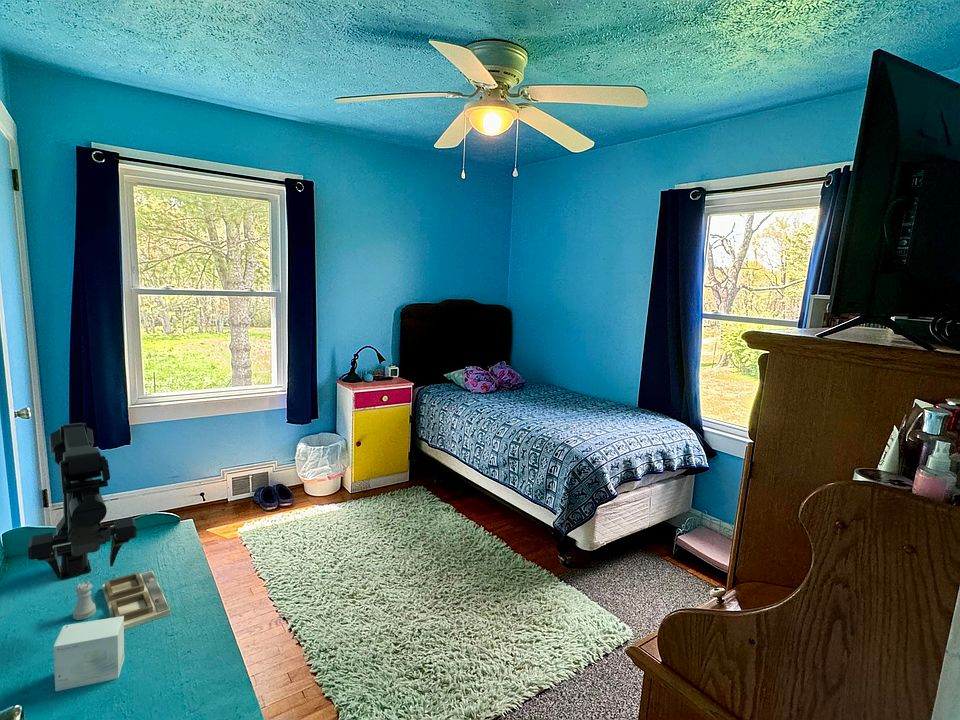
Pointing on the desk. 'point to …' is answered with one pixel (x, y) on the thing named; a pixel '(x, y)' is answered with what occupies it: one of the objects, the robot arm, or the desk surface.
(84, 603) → the rook chess piece
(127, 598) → the board
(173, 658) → the desk surface
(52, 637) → the desk surface
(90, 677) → the skincare box
